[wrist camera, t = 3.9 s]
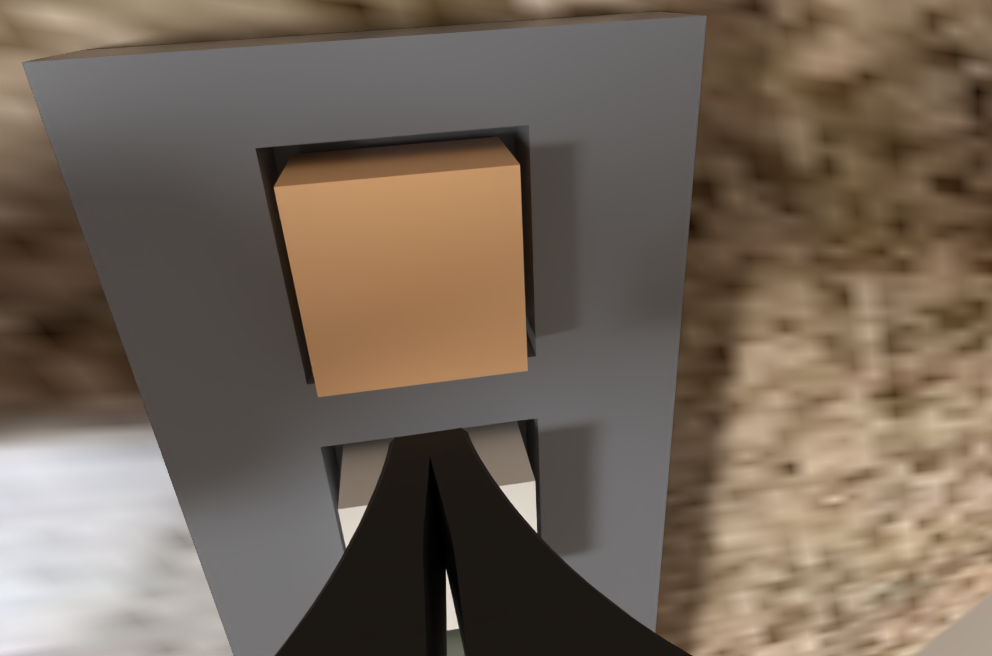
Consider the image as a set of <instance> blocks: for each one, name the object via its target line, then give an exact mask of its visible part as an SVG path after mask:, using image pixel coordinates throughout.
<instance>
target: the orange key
mask: <svg viewBox="0 0 992 656" xmlns="http://www.w3.org/2000/svg"><path fill="white" fill-rule="evenodd" d="M274 191H275V196H276V201H277V205H278V210H279V215H280V220H281V224H282V229H283V234H284V238H285V243H286V248H287V253H288V257H289V262H290V267H291V272H292V276H293V281H294V286H295V290H296V295H297V300H298V305H299V309H300V314H301V319H302V324H303V328H304V333H305V338H306V342H307V347H308V352H309V357H310V361H311V366H312V371H313V376H314V380H315V385H316V390H317V394H318V397H324V396H332V395H340V394H348V393H356V392H364V391H372V390H380V389H388V388H396V387H404V386H412V385H420V384H428V383H436V382H443V381H451V380H459V379H467V378H475V377H483V376H491V375H499V374H507V373H515V372H523V371H528V363H527V336H526V309H525V283H524V256H523V229H522V203H521V176H520V164H519V163H518V161H517V160H516V159H515V158H514V156H513V155H512V154H511V152H510V151H509V150H508V149H507V147H506V146H505V145H504V143H503V142H502V141H501V140H500V138H499V137H488V138H476V139H464V140H453V141H441V142H430V143H418V144H406V145H395V146H383V147H372V148H360V149H349V150H337V151H325V152H314V153H302V154H292V155H291V157H290V159H289V161H288V162H287V164H286V166H285V168H284V170H283V171H282V173H281V175H280V177H279V178H278V180H277V182H276V184H275V186H274Z"/></svg>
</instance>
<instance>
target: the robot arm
mask: <svg viewBox="0 0 992 656" xmlns="http://www.w3.org/2000/svg"><path fill="white" fill-rule="evenodd" d="M446 571H447V576H448V580H449V585H450V590H451V594H452V599H453V603H454V608H455V613H456V617H457V622H458V626H459V631H460V636H461V640H462V645H463V650H464V654H465V656H692V655H690V654H689V653H687V652H685V651H683V650H682V649H680V648H678V647H677V646H675V645H673V644H671V643H670V642H668V641H667V640H665V639H663V638H662V637H661V636H659V635H658V634H656V633H655V632H653V631H652V630H650V629H649V628H647V627H646V626H644V625H643V624H642V623H640V622H639V621H637V620H636V619H634V618H633V617H631V616H630V615H629V614H628V613H626V612H625V611H624V610H622V609H621V608H620V607H619V606H617V605H616V604H615V603H614V602H612V601H611V600H610V599H608V598H607V597H606V596H605V595H603V594H602V593H601V592H599V591H598V590H597V589H596V588H594V587H593V586H592V585H591V584H589V583H588V582H587V581H586V580H585V579H584V578H583V577H581V576H580V575H579V574H578V573H577V572H576V571H575V570H574V569H572V568H571V567H570V566H569V565H568V564H567V563H566V562H565V561H564V560H563V559H562V558H561V557H560V556H559V555H558V554H557V553H556V552H555V551H554V550H553V549H552V548H551V547H550V546H549V545H548V544H547V543H546V542H545V541H544V540H543V539H542V538H541V537H540V536H539V535H538V534H537V533H536V532H535V530H534V529H533V528H532V527H531V526H530V525H529V523H528V522H527V521H526V520H525V519H524V518H523V517H522V515H521V514H520V513H519V512H518V511H517V509H516V508H515V507H514V506H513V504H512V503H511V502H510V500H509V499H508V498H507V496H506V495H505V494H504V492H503V491H502V490H501V488H500V487H499V486H498V484H497V483H496V482H495V480H494V479H493V477H492V476H491V474H490V473H489V471H488V470H487V468H486V466H485V465H484V463H483V462H482V460H481V458H480V457H479V455H478V453H477V451H476V449H475V448H474V446H473V443H472V441H471V439H470V437H469V434H468V432H467V431H465V430H464V429H463V428H456V429H449V430H442V431H436V432H429V433H422V434H415V435H408V436H401V437H395V438H394V439H393V440H392V441H391V442H390V443H389V447H388V452H387V455H386V459H385V462H384V465H383V468H382V471H381V474H380V476H379V479H378V482H377V484H376V487H375V489H374V492H373V494H372V496H371V498H370V501H369V503H368V505H367V508H366V510H365V512H364V514H363V517H362V519H361V521H360V523H359V525H358V527H357V529H356V531H355V533H354V534H353V536H352V538H351V540H350V542H349V544H348V546H347V548H346V550H345V552H344V554H343V555H342V557H341V559H340V561H339V563H338V564H337V566H336V568H335V569H334V571H333V573H332V574H331V576H330V578H329V579H328V581H327V583H326V584H325V586H324V587H323V589H322V590H321V592H320V593H319V595H318V596H317V598H316V600H315V601H314V603H313V604H312V606H311V607H310V608H309V610H308V611H307V613H306V614H305V615H304V617H303V618H302V619H301V621H300V622H299V624H298V625H297V626H296V628H295V629H294V631H293V632H292V633H291V635H290V636H289V637H288V639H287V640H286V641H285V643H284V644H283V645H282V647H281V648H280V649H279V650H278V652H277V653H276V654H275V655H274V656H447V608H446Z"/></svg>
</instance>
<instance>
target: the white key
mask: <svg viewBox="0 0 992 656" xmlns="http://www.w3.org/2000/svg"><path fill="white" fill-rule="evenodd" d="M463 429H464V430H465V431H467V432H468V434H469V437H470V439H471V441H472V443H473V446H474V448H475V449H476V451H477V453H478V455H479V457H480V458H481V460H482V462H483V463H484V465H485V466H486V468H487V470H488V471H489V473H490V474H491V476H492V477H493V479H494V480H495V482H496V483H497V484H498V486H499V487H500V488H501V490H502V491H503V492H504V494H505V495H506V496H507V498H508V499H509V500H510V502H511V503H512V504H513V506H514V507H515V508H516V509H517V511H518V512H519V513H520V514H521V515H522V517H523V518H524V519H525V520H526V521H527V522H528V523H529V525H530V526H531V527H532V528H533V529H534V530H535V532H536V533H537V516H536V487H535V478H534V475H533V472H532V469H531V466H530V462H529V459H528V456H527V453H526V449H525V446H524V443H523V440H522V436H521V433H520V430H519V427H518V423H517V421H513V422H505V423H498V424H490V425H483V426H475V427H468V428H463ZM400 437H401V436H400ZM394 438H395V437H393V438H385V439H378V440H370V441H363V442H355V443H348V444H343V456H342V467H341V478H340V490H339V501H338V513H339V518H340V522H341V527H342V532H343V536H344V541H345V546H346V548H347V546H348V544H349V542H350V540H351V538H352V536H353V534H354V533H355V531H356V529H357V527H358V525H359V523H360V521H361V519H362V517H363V514H364V512H365V510H366V508H367V505H368V503H369V501H370V498H371V496H372V494H373V492H374V489H375V487H376V484H377V482H378V479H379V476H380V474H381V471H382V468H383V465H384V462H385V459H386V455H387V452H388V447H389V443H390V442H391V441H392V440H393V439H394ZM446 608H447V630H453V629H459V626H458V622H457V617H456V613H455V608H454V603H453V599H452V594H451V590H450V585H449V580H448V576H447V571H446Z"/></svg>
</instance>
